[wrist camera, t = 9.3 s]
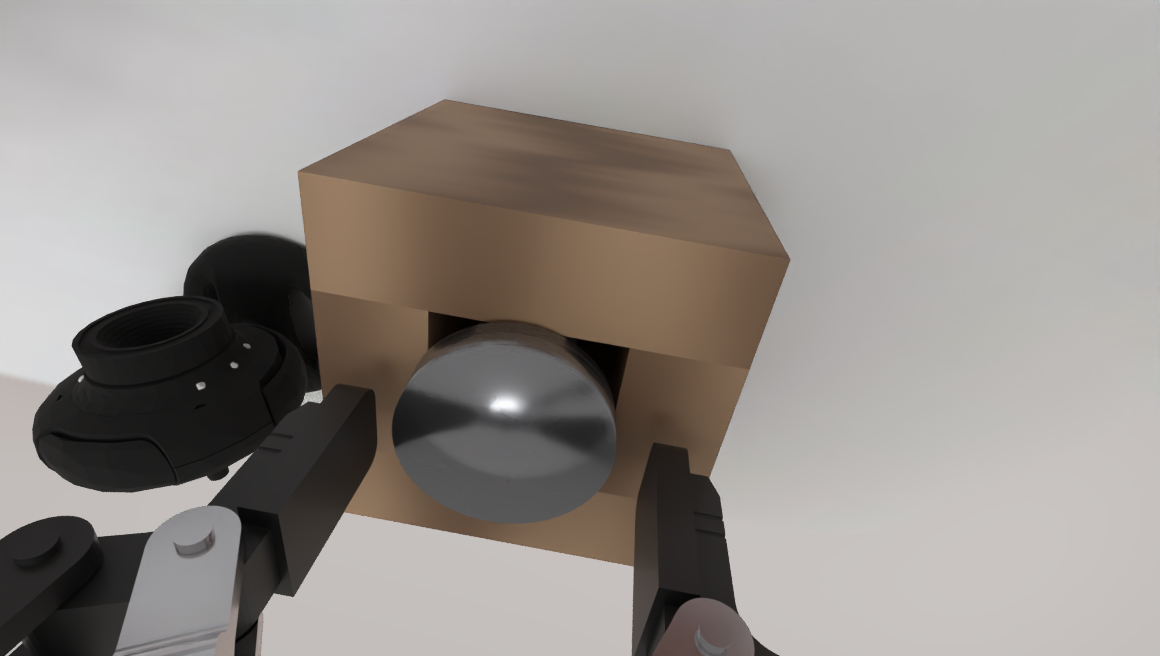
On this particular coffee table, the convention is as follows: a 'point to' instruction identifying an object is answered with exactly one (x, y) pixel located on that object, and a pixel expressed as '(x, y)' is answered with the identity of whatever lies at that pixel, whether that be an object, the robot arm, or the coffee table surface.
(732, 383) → the block
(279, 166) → the coffee table surface
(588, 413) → the pin
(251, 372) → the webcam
